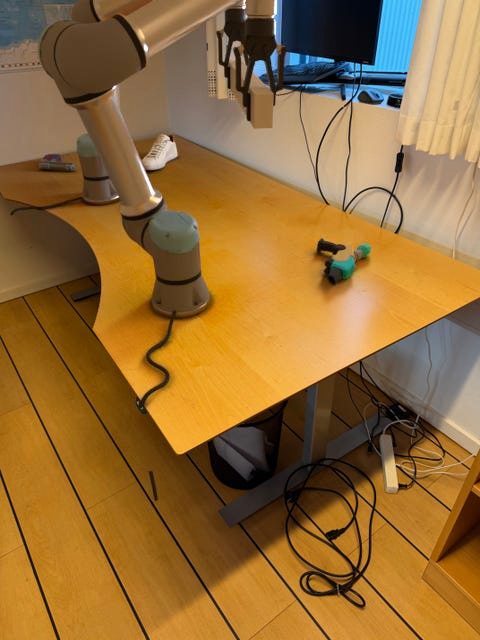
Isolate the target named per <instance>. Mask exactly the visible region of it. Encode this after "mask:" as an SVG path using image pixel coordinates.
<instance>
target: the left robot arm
mask: <svg viewBox="0 0 480 640" xmlns="http://www.w3.org/2000/svg"><path fill="white" fill-rule="evenodd" d="M152 1H153V0H77V1H76V3H74V5H73V7H72V9H71V13H70V16H71V17H70V18H71V19H70V20H73V21H76V22H78V23H84V24H91V23H97V22H101V21H104V20H107V19H109V18H111V17H113V16H114V15H116V14H118V13H120V14H122V15H125V16H128V15H129V14H131V13H133V12H134V11H136V10H138V9H140V8H141V7H143V6H145V5H146V4H148V3H150V2H152ZM246 18H247V15H245V0H242V1H240V2H238V3H237V4H235V5H234V6H232V7H230V8H229V9H227V10H225V11H224V26H223V27H222V28H221V29H219V30H218V29H217V30H216V31H215V34H216V38H217V58H218V59H217V61H218V65H219V66H222V67H223V76H224V78H225V79H227V80H226V81H227V89H228V90H230V89H231V85H230V67H229V66H228V64H229V60H231V59H230V58H231V54H232V50H233V44H234V43H235V42H240V45H243V42H244V39H245V20H246ZM224 34H225V35H226V37H227V39H228V40H227V46H226V50H225V55H223V54H224V53H223V37H224ZM223 57H224V61H223ZM242 57H243V59H244V64H245V65H246V66H248V60H249V56H248V54H247V53H246V51H245V49H244V50H243V55H242ZM113 95H114V97H115V100H116V102H117V105H118V107H119V109H120V112H121V97H120V83H119V84H117V85H116V88H115V90H114V94H113ZM121 113H122V112H121ZM75 142H76V151H77V154H78V159H79V164H80V168H81V173H82V177H83V182H82V183H83V185H82V192H81V196H78V197H75V198H71V199H68V200H64V201H61V202H57V203H53V204H49V205H43V206H39V205H38V206H36V205H35V206H25V207H24V206H23V207H17V208H14V209H13V210H12V211H11V212H10V214H9V215H10V216H13V215H14V214H15V213H16V212H18V211H26V210H27V211H28V210H45V209H51V208H55V207H60V206H63V205H66V204H69V203H73V202H76V201H80V200H82V201H83V202H84V203H85V204H87V205H88V204H89V205H93V206H105V205H110V204H114V203H116V202H119V201H121V200H120V198H119V196H118V194H117V192H116V190H115V188H114V186H113V184H112V182H111V180H110V178H109V175H108V173H107V171H106V169H105V167H104V165H103V163H102V161H101V159H100V157H99V155H98V153H97V151H96V149H95V147H94V144H93V142H92V140H91V138H90V136H89V134H88V132H85V133H83V134H81V135H80V136H78V137H77V138H76V141H75Z"/></svg>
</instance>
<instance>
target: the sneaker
mask: <svg viewBox="0 0 480 640" xmlns="http://www.w3.org/2000/svg"><path fill="white" fill-rule="evenodd" d="M178 156H179V155H178V149H177V144H176V140H175V136H174V135H173V134H164V133H161V134H158V135H157V137H156V139H155V140H154V142H153V143H152V146H151V148H150V150H149V151H148V153H147V154H146V155H145V156H144V157H143V158H142V159H141V162H142V164H143V166H144V169H145V171H156V170H160V169H162V168H164V167H165V166H166V164H167V163H168V162H170V161H172V160H175V159H176V158H177V157H178Z"/></svg>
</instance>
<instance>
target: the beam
mask: <svg viewBox="0 0 480 640" xmlns="http://www.w3.org/2000/svg"><path fill="white" fill-rule="evenodd" d="M228 66H229V67H230V85H231V89H229V90H230V92H231V94H232V95H233V97H234V99H235V100H236V102H237V103H238V105H239V107H240V108H241V110H242V111H243V113H244V114H245V116H246V107H244V106H243V104H242V93H241V92H238V91H237V90H236V88H235V59H229V64H228ZM246 71H247V66H246V65H245V62H244V61H243V60H241V86H242V87H243V84H244V80H245V75H246ZM248 93H250V94H251V121H249V123H250V124H251V126H252V128H253V129H254V130H259V129H273V126H274V125H273V123H274V106H273V97H274V93H273V92H272V91H271V90H270V87H268V86H267V85H266V84H265V83H264V82H263V80H261V79H260V78H259V77H258V76H257V75H256V73H255V72H253V73H252V77H251V82H250V86H249V90H248Z"/></svg>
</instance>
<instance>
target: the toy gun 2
mask: <svg viewBox="0 0 480 640" xmlns="http://www.w3.org/2000/svg"><path fill="white" fill-rule="evenodd" d="M371 251H372V246H371V245H370V244H367V243H366V244H365V243H362V244H359V245H358V246H357V247H356V249H354V247H353V246H352V245H346V244H341V243H338V244H337V243H335V242H332V241H327V240H325V239H324V238H322V237H320V239H319V240H318V241H317V245H316V252H317V253H321V252H328V253H331V254H332V256H331V257H329V258H327V259H326V260H325V262H324V266H325V268H324V269H323V273H324V274H325V275H326V276H327V278H326V280H327V281H328V283H329V284H330V285H332V286H337V284H338V282H340V281H341V279H343V280H347V279H349V278H351V277H352V276H353V274H354V273H355V271H356V263H355V262H358V261H359V260H361V259H362V258H367V257H368V256H369V255H370V254H371Z"/></svg>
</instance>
